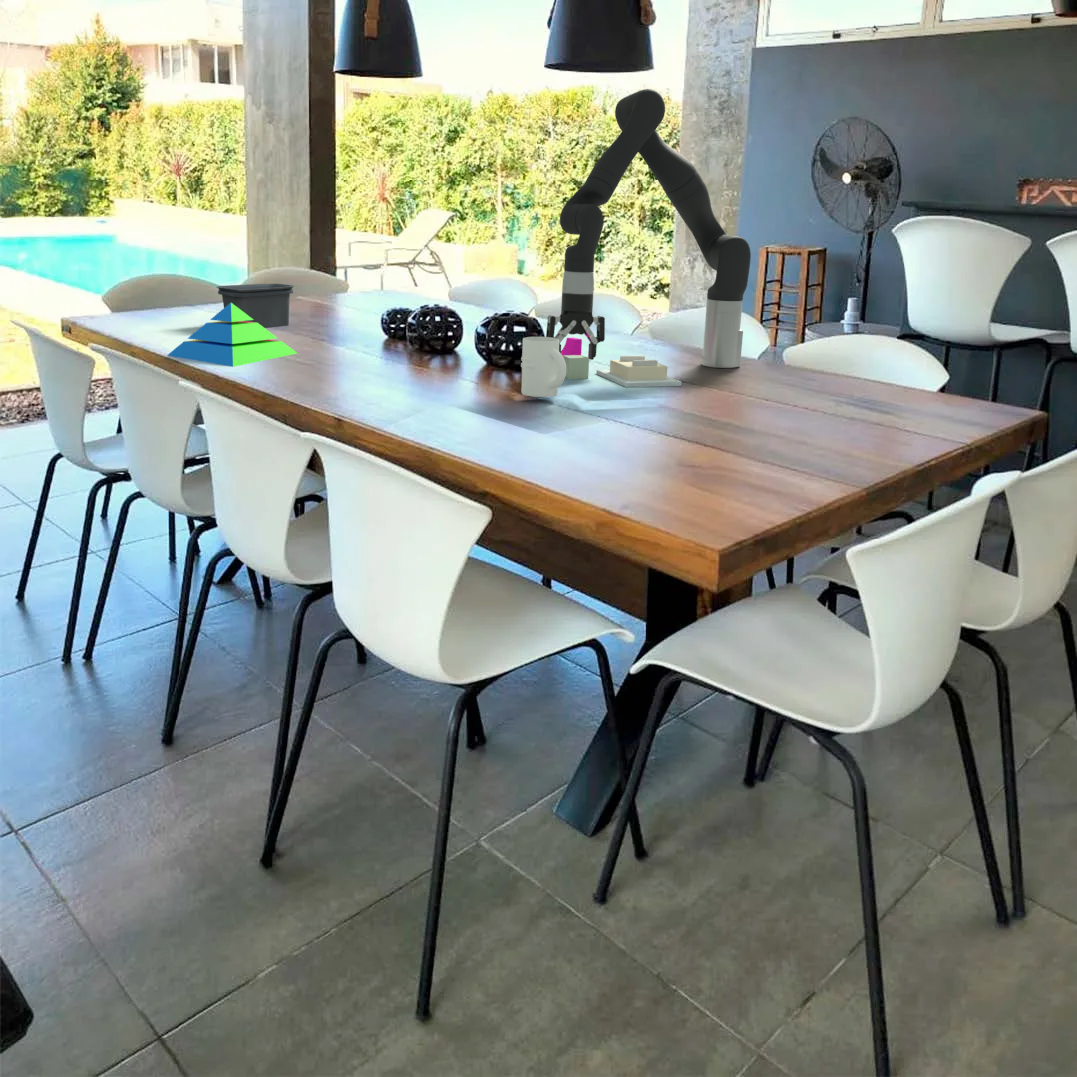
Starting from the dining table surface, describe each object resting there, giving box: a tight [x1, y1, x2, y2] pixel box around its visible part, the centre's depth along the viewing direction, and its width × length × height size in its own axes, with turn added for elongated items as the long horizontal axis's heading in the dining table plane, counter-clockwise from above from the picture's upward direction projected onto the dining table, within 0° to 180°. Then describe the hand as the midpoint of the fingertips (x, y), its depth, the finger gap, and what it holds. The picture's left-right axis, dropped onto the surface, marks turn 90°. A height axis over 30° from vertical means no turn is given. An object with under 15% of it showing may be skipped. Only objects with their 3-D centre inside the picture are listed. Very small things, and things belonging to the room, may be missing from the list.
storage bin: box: [216, 283, 294, 329], centre depth 314 cm, size 21×16×14 cm
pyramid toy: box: [166, 303, 298, 368], centre depth 268 cm, size 25×25×14 cm
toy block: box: [561, 337, 583, 356], centre depth 263 cm, size 15×6×8 cm, turn 126°
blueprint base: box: [595, 354, 682, 388], centre depth 251 cm, size 14×20×5 cm
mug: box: [520, 336, 566, 398], centre depth 225 cm, size 8×12×12 cm
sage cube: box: [563, 354, 590, 380], centre depth 253 cm, size 5×5×5 cm
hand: (574, 359), depth 252 cm, fingers open, 8 cm apart
